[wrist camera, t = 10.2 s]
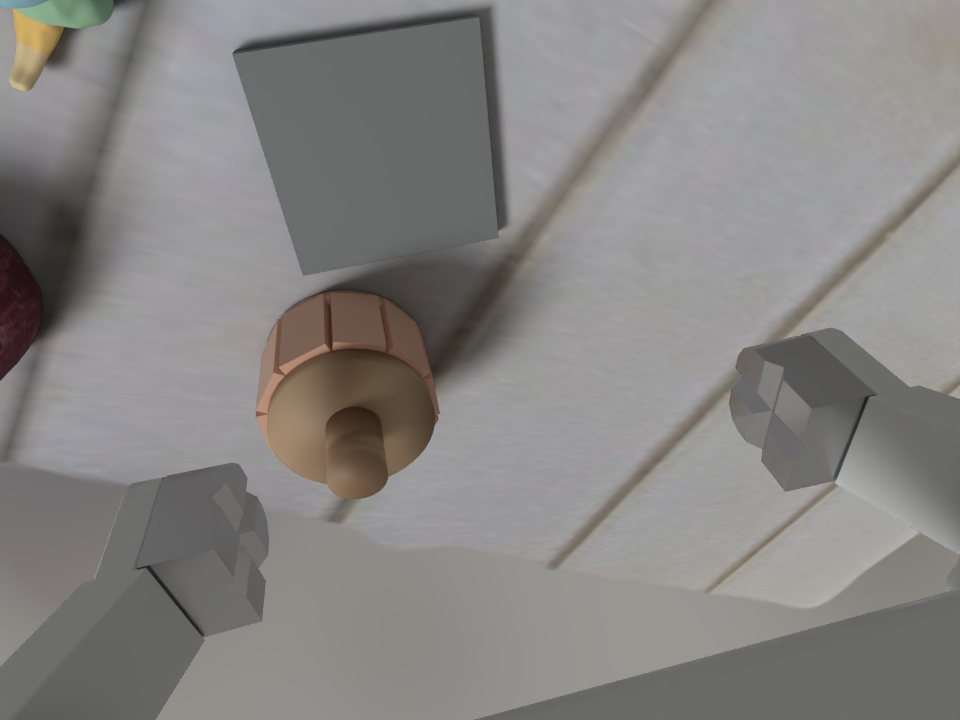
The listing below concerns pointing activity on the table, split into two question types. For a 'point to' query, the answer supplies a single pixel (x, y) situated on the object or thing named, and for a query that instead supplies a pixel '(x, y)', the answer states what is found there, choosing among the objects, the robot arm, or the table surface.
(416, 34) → the mat
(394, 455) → the lid
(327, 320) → the faceted hollow tube
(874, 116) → the table surface
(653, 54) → the table surface
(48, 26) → the toy flower bud
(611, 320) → the table surface
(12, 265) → the vegetable
